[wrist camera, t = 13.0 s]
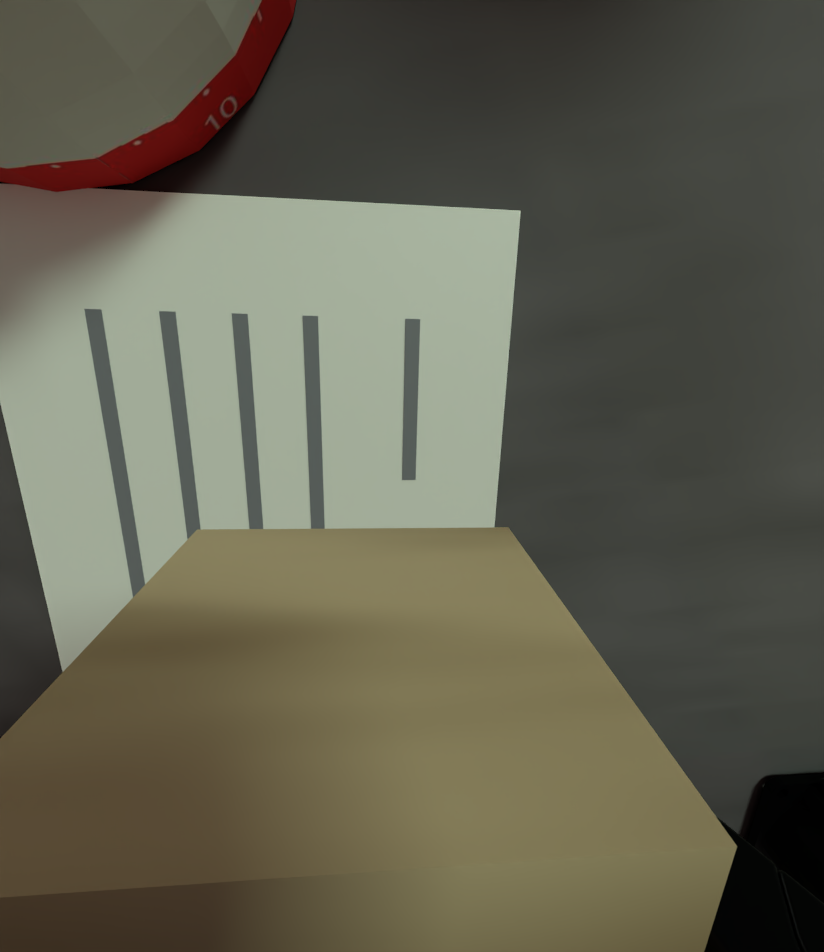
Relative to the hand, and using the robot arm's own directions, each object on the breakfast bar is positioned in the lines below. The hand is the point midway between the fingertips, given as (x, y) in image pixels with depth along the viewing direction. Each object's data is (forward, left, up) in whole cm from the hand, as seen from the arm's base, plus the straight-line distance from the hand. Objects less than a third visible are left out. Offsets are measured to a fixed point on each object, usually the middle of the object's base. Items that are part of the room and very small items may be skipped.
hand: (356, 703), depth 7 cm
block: (0, 0, -1) cm, 1 cm away
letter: (0, +3, -9) cm, 9 cm away
